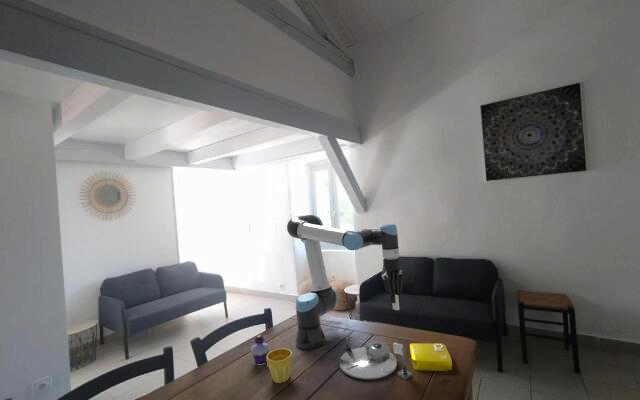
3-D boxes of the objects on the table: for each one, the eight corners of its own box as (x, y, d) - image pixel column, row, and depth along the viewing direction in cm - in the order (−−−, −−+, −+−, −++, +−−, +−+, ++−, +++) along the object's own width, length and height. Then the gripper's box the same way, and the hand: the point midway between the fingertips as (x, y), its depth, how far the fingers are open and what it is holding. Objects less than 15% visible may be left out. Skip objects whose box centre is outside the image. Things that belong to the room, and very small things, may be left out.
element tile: (410, 352, 132) (409, 341, 132) (445, 353, 129) (444, 341, 129) (413, 371, 117) (412, 359, 117) (453, 372, 114) (452, 359, 114)
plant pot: (289, 386, 113) (287, 361, 113) (264, 385, 115) (262, 360, 115) (297, 371, 123) (295, 348, 123) (273, 371, 125) (271, 347, 125)
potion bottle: (261, 355, 139) (259, 330, 140) (274, 360, 134) (272, 333, 135) (247, 364, 132) (245, 337, 133) (260, 369, 127) (258, 341, 128)
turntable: (325, 359, 130) (324, 345, 131) (366, 342, 143) (365, 329, 143) (364, 387, 108) (362, 370, 108) (409, 364, 120) (408, 349, 120)
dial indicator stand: (395, 373, 116) (392, 343, 116) (402, 370, 118) (399, 340, 118) (405, 379, 111) (402, 348, 111) (412, 375, 113) (409, 344, 114)
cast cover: (361, 355, 129) (361, 345, 129) (378, 347, 134) (377, 338, 134) (377, 364, 120) (376, 353, 121) (394, 356, 126) (393, 345, 126)
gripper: (386, 261, 129) (391, 315, 128) (407, 256, 136) (412, 307, 135) (375, 259, 135) (379, 310, 134) (395, 254, 142) (400, 304, 141)
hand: (396, 309), depth 135 cm, fingers closed
